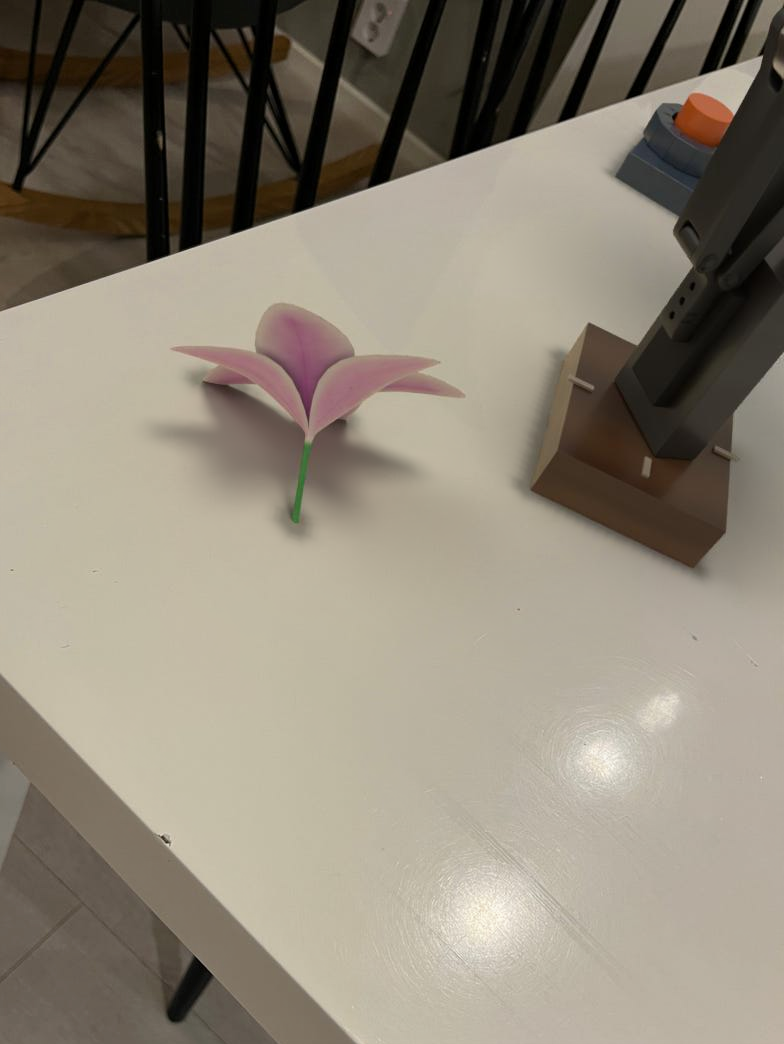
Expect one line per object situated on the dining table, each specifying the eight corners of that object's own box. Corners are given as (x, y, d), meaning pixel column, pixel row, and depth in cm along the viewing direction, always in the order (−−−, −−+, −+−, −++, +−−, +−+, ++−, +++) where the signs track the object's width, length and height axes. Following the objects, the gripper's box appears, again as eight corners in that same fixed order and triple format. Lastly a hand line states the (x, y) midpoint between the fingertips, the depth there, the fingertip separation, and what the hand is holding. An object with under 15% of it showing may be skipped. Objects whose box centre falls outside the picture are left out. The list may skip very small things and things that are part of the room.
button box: (687, 226, 77) (721, 175, 74) (609, 178, 77) (640, 125, 74) (720, 180, 83) (752, 132, 80) (647, 136, 84) (677, 87, 81)
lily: (447, 512, 52) (489, 307, 49) (398, 587, 42) (447, 333, 38) (214, 461, 55) (237, 262, 51) (113, 519, 44) (132, 274, 40)
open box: (695, 460, 54) (833, 292, 47) (654, 457, 53) (789, 285, 46) (652, 384, 57) (776, 214, 50) (613, 379, 56) (733, 206, 49)
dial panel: (696, 575, 54) (735, 533, 52) (521, 490, 54) (552, 445, 51) (708, 435, 62) (742, 393, 59) (556, 361, 61) (584, 316, 59)
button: (710, 155, 76) (728, 127, 75) (667, 128, 77) (683, 101, 75) (722, 139, 79) (739, 113, 77) (679, 114, 79) (696, 87, 77)
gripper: (975, -158, 31) (569, 433, 49) (1293, -30, 37) (827, 456, 55) (848, -257, 35) (515, 322, 53) (1153, -128, 41) (762, 355, 59)
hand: (675, 389), depth 54 cm, fingers closed on open box, 3 cm apart
